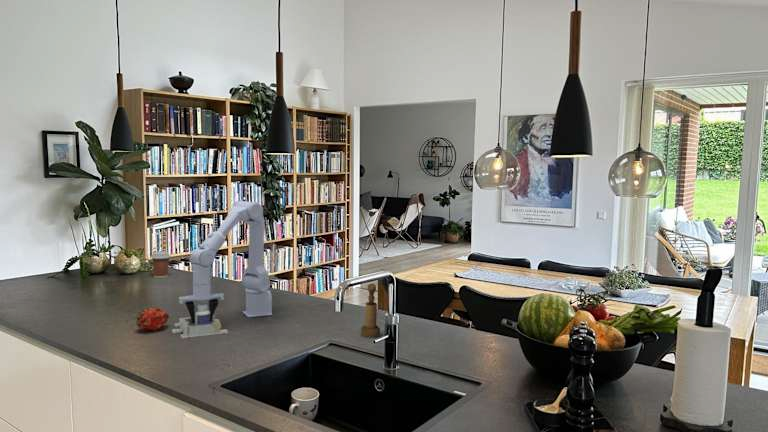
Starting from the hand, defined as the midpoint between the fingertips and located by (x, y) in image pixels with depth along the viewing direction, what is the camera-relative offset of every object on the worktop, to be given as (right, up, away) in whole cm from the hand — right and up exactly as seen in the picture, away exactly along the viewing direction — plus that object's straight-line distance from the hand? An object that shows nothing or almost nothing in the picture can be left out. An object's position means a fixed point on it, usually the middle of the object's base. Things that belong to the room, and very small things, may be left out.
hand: (201, 321), depth 189 cm
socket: (-1, -3, 0) cm, 3 cm away
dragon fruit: (-16, -3, -2) cm, 16 cm away
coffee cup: (-48, +6, +82) cm, 95 cm away
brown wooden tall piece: (+59, -5, 0) cm, 59 cm away
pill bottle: (0, -3, -1) cm, 3 cm away
